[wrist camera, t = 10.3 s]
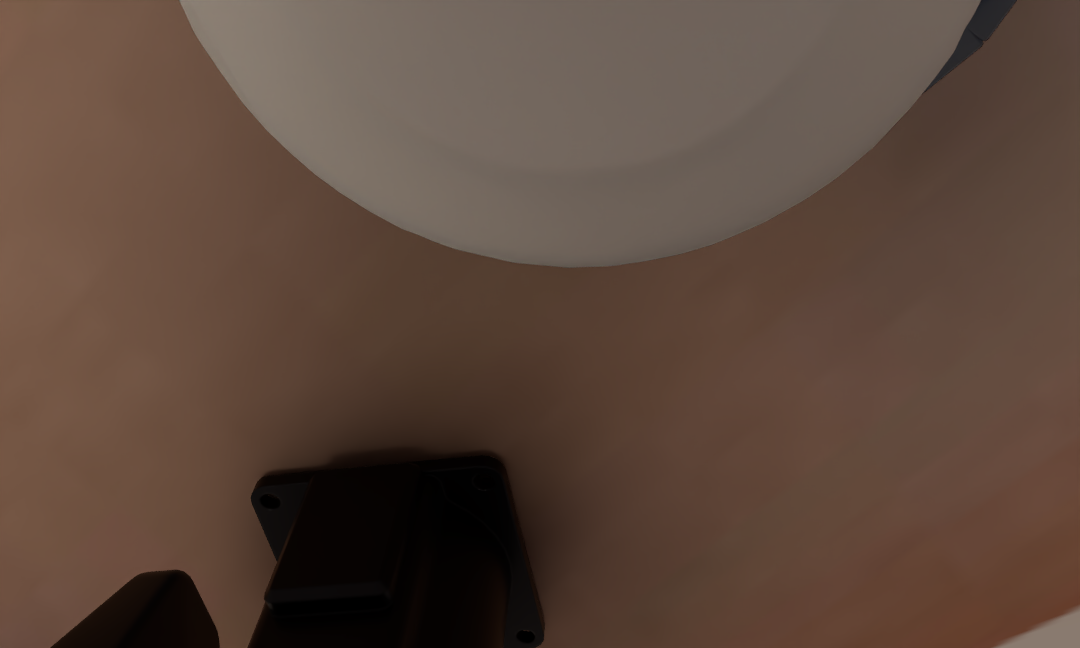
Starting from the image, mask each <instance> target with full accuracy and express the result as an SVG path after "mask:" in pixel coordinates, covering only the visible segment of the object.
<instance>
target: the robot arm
mask: <svg viewBox="0 0 1080 648" xmlns="http://www.w3.org/2000/svg"><path fill="white" fill-rule="evenodd" d="M479 474H487V475H489V476H491V477H492V478H490V479H482V478H480V477H479V476H478V475H479ZM268 494H273V495H275V496H277V497H278V498H272V497H270V496H268ZM251 502H252V505H253V507H254V510H255V512H256V514H257V517H258V519H259V521H260V523H261V526H262V528H263V530H264V533H265V535H266V537H267V540H268V542H269V544H270V547H271V549H272V551H273V554H274V556H275V558H276V561H277V564H276V566H275V569H274V571H273V574H272V576H271V579H270V581H269V584H268V586H267V589H266V592H265V595H264V600H265V605H264V607H263V610H262V612H261V615H260V617H259V620H258V622H257V625H256V627H255V630H254V633H253V635H252V638H251V640H250V643H249V645H248V648H536V647H537V646H539V645H541V643H542V642H543V640H544V630H545V623H544V619H543V615H542V611H541V607H540V603H539V599H538V595H537V591H536V587H535V583H534V579H533V575H532V571H531V568H530V564H529V560H528V556H527V552H526V548H525V544H524V540H523V536H522V532H521V528H520V524H519V520H518V516H517V512H516V509H515V505H514V501H513V497H512V493H511V489H510V485H509V481H508V477H507V473H506V469H505V467H504V465H503V464H502V463H501V462H500V461H499V460H498V459H496V458H494V457H491V456H482V455H481V456H471V457H460V458H450V459H439V460H429V461H419V462H408V463H398V464H387V465H377V466H366V467H356V468H346V469H335V470H325V471H314V472H304V473H293V474H283V475H273V476H267V477H263V478H261V479H260V480H259V481H258V482H257V484H256V486H255V488H254V490H253V493H252V495H251ZM523 630H529V631H523ZM51 648H220V645H219V637H218V632H217V629H216V627H215V625H214V623H213V621H212V619H211V617H210V614H209V612H208V610H207V608H206V606H205V604H204V602H203V600H202V598H201V596H200V594H199V592H198V590H197V588H196V586H195V584H194V582H193V580H192V579H191V577H190V576H189V575H188V574H186V573H185V572H184V571H180V570H167V571H155V572H146V573H142V574H139V575H137V576H135V577H134V578H133V579H131V580H130V581H129V582H128V583H127V584H125V585H124V586H123V587H122V588H121V589H119V590H118V591H117V592H116V593H115V594H114V595H112V596H111V597H110V598H109V599H108V600H106V601H105V602H104V603H103V604H102V605H100V606H99V607H98V608H97V609H96V610H95V611H93V612H92V613H91V614H90V615H89V616H87V617H86V618H85V619H84V620H83V621H81V622H80V623H79V624H78V625H77V626H76V627H74V628H73V629H72V630H71V631H70V632H68V633H67V634H66V635H65V636H64V637H62V638H61V639H60V640H59V641H58V642H57V643H55V644H54V645H53V646H52V647H51Z"/></svg>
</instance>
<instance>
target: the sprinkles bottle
mask: <svg viewBox="0 0 1080 648" xmlns="http://www.w3.org/2000/svg"><path fill="white" fill-rule="evenodd" d="M179 1H180V3H181V5H182V7H183V9H184V11H185V13H186V16H187V18H188V20H189V23H190V25H191V27H192V29H193V32H194V33H195V35H196V36H197V38H198V40H199V41H200V43H201V44H202V46H203V48H204V49H205V50H206V52H207V53H208V55H209V56H210V57H211V59H212V60H213V62H214V63H215V65H216V66H217V68H218V69H219V71H220V72H221V74H222V75H223V76H224V78H225V79H226V81H227V82H228V83H229V85H230V86H231V87H232V89H233V90H234V92H235V93H236V94H237V96H238V97H239V99H240V100H241V101H242V103H243V104H244V105H245V106H246V108H247V109H248V110H249V111H250V112H251V113H252V114H253V115H254V117H255V118H256V119H257V120H258V121H259V122H260V123H261V125H262V126H263V127H264V128H265V129H266V130H267V131H268V132H269V133H270V134H271V135H272V136H273V137H274V138H275V139H276V140H277V141H278V142H279V143H280V144H281V145H282V146H283V147H284V148H285V149H286V150H288V151H289V152H290V153H291V154H292V155H293V156H294V157H295V158H297V159H298V160H299V161H300V162H301V163H302V164H303V165H305V166H306V167H307V168H308V169H309V170H310V171H311V172H313V173H314V174H315V175H316V176H318V177H319V178H320V179H322V180H323V181H324V182H326V183H327V184H329V185H330V186H331V187H333V188H334V189H335V190H337V191H338V192H339V193H341V194H343V195H344V196H346V197H347V198H349V199H350V200H352V201H354V202H355V203H357V204H358V205H360V206H362V207H363V208H365V209H366V210H368V211H369V212H371V213H373V214H375V215H377V216H379V217H381V218H382V219H384V220H386V221H388V222H390V223H392V224H394V225H395V226H397V227H399V228H401V229H403V230H406V231H409V232H411V233H414V234H417V235H419V236H422V237H424V238H426V239H429V240H431V241H433V242H436V243H439V244H442V245H445V246H448V247H451V248H453V249H457V250H461V251H465V252H469V253H474V254H478V255H482V256H487V257H491V258H495V259H500V260H504V261H508V262H513V263H523V264H533V265H544V266H555V267H566V268H574V267H601V266H616V265H623V264H630V263H637V262H644V261H649V260H654V259H659V258H664V257H669V256H674V255H679V254H683V253H686V252H690V251H693V250H696V249H700V248H703V247H707V246H710V245H713V244H716V243H718V242H720V241H723V240H725V239H728V238H730V237H733V236H735V235H737V234H740V233H742V232H744V231H747V230H749V229H751V228H753V227H756V226H758V225H760V224H762V223H764V222H766V221H768V220H770V219H772V218H774V217H775V216H777V215H779V214H781V213H783V212H784V211H786V210H788V209H790V208H791V207H793V206H795V205H797V204H798V203H800V202H802V201H804V200H805V199H807V198H809V197H810V196H812V195H813V194H815V193H816V192H817V191H819V190H820V189H822V188H823V187H825V186H826V185H828V184H829V183H831V182H832V181H833V180H835V179H836V178H838V177H839V176H840V175H841V174H842V173H844V172H845V171H846V170H847V169H848V168H850V167H851V166H852V165H853V164H854V163H855V162H857V161H858V160H859V159H860V158H861V157H863V156H864V155H865V154H866V153H867V152H869V151H870V150H871V149H872V148H873V147H874V146H875V145H876V144H877V143H878V142H879V141H880V140H881V139H882V138H883V137H884V136H885V135H886V134H887V133H888V132H889V130H890V129H891V128H892V127H893V126H894V125H895V124H896V123H897V122H898V121H899V120H900V119H901V118H902V117H903V116H904V115H905V113H906V112H907V111H908V110H909V109H910V108H911V107H912V106H913V105H914V103H915V102H916V101H917V100H918V98H919V97H920V96H921V95H922V93H923V92H924V91H925V90H926V88H927V87H928V86H929V85H930V83H931V82H932V81H933V80H934V78H935V77H936V76H937V74H938V73H939V72H940V70H941V69H942V68H943V66H944V65H945V63H946V62H947V61H948V59H949V58H950V57H951V55H952V54H953V53H954V51H955V49H956V47H957V44H958V42H959V40H960V38H961V36H962V34H963V32H964V30H965V28H966V26H967V25H968V23H969V21H970V20H971V18H972V17H973V15H974V13H975V11H976V9H977V7H978V5H979V3H980V1H981V0H179Z"/></svg>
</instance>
